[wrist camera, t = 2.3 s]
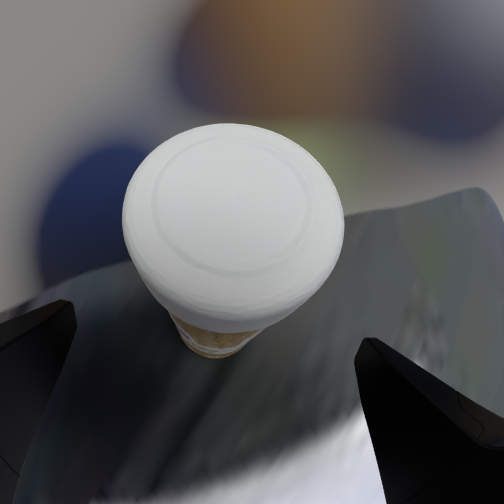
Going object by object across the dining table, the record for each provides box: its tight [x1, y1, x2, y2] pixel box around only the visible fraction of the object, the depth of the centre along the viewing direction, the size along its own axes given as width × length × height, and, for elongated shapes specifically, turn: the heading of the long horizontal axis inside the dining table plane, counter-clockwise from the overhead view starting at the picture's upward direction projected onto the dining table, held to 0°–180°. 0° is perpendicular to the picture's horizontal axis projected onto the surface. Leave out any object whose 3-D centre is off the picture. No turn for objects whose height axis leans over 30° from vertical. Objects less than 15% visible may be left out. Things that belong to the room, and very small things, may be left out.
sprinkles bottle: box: [122, 124, 344, 359], centre depth 12 cm, size 5×4×13 cm
